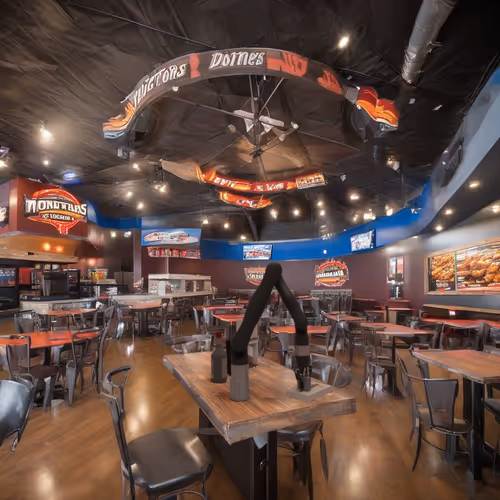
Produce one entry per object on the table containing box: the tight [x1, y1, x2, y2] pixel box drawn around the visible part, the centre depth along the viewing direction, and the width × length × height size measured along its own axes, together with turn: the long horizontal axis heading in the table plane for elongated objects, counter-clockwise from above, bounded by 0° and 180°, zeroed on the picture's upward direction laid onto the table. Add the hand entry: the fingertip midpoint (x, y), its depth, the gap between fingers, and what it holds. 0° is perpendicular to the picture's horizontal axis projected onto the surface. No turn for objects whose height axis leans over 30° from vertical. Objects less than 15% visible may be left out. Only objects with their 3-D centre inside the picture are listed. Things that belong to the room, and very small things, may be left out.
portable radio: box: [225, 336, 231, 376], centre depth 210 cm, size 8×6×25 cm
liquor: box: [210, 331, 228, 384], centre depth 194 cm, size 9×9×30 cm
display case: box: [235, 318, 259, 369], centre depth 229 cm, size 11×11×35 cm
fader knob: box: [296, 376, 312, 391], centre depth 162 cm, size 4×6×6 cm, turn 45°
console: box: [285, 380, 333, 403], centre depth 164 cm, size 22×14×3 cm, turn 135°
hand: (304, 387), depth 162 cm, fingers closed on fader knob, 4 cm apart
